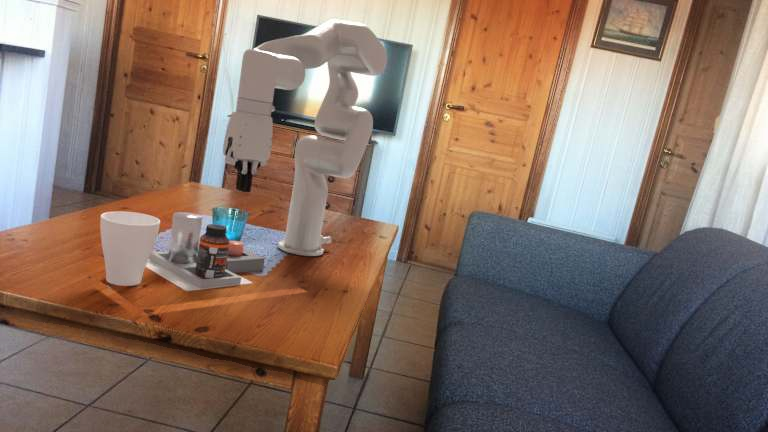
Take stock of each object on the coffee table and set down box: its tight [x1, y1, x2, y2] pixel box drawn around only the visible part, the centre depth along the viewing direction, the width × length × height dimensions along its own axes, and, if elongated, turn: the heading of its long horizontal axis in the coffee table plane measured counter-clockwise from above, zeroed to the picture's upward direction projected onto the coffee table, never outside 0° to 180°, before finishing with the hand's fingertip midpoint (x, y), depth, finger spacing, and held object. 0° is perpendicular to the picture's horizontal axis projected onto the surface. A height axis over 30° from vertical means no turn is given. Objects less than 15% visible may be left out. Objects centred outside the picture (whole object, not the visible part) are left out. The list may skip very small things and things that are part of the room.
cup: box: [99, 210, 161, 290], centre depth 117 cm, size 10×10×14 cm
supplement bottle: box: [195, 223, 230, 279], centre depth 127 cm, size 6×6×11 cm
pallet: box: [145, 251, 254, 292], centre depth 131 cm, size 16×20×3 cm
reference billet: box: [168, 211, 204, 264], centre depth 133 cm, size 6×6×11 cm
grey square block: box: [225, 248, 266, 274], centre depth 141 cm, size 10×10×4 cm
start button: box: [227, 240, 245, 257], centre depth 140 cm, size 4×4×3 cm
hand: (242, 190), depth 138 cm, fingers closed
